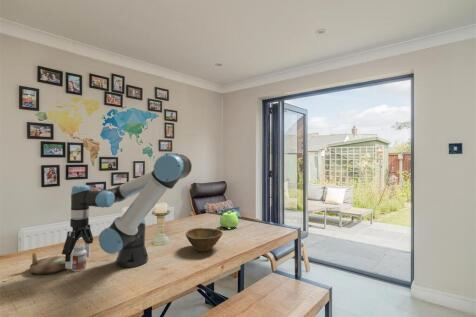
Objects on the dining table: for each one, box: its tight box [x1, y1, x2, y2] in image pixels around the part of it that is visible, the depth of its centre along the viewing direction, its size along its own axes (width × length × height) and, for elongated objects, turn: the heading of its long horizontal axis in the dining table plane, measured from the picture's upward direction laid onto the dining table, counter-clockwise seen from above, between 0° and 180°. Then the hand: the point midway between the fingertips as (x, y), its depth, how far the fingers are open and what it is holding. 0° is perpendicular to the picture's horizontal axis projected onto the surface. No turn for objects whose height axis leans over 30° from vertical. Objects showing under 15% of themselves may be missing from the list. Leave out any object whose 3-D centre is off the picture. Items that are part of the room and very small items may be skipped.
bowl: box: [185, 227, 224, 252], centre depth 158 cm, size 22×23×10 cm
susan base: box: [42, 269, 64, 275], centre depth 127 cm, size 12×12×1 cm
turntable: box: [29, 252, 66, 275], centre depth 127 cm, size 16×16×7 cm
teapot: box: [219, 210, 239, 229], centre depth 208 cm, size 20×13×13 cm
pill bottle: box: [70, 243, 87, 272], centre depth 127 cm, size 6×6×11 cm
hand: (78, 262), depth 127 cm, fingers open, 13 cm apart
